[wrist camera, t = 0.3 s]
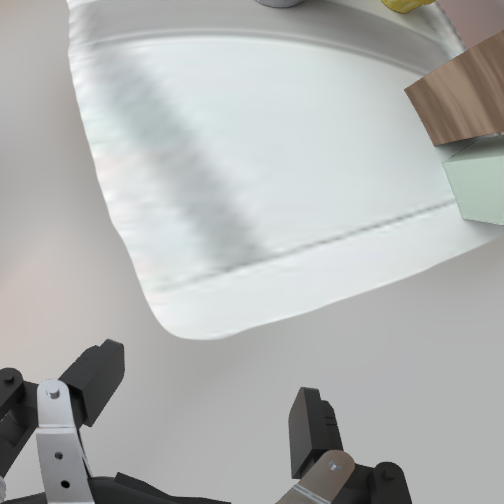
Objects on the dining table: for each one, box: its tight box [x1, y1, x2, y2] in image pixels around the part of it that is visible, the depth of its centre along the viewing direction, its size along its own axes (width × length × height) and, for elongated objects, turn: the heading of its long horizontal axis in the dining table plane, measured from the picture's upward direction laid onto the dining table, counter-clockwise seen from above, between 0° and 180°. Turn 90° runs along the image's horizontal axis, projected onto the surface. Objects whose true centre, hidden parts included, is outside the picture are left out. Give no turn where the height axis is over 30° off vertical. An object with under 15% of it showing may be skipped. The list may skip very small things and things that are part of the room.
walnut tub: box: [404, 30, 504, 146], centre depth 19 cm, size 12×12×31 cm
